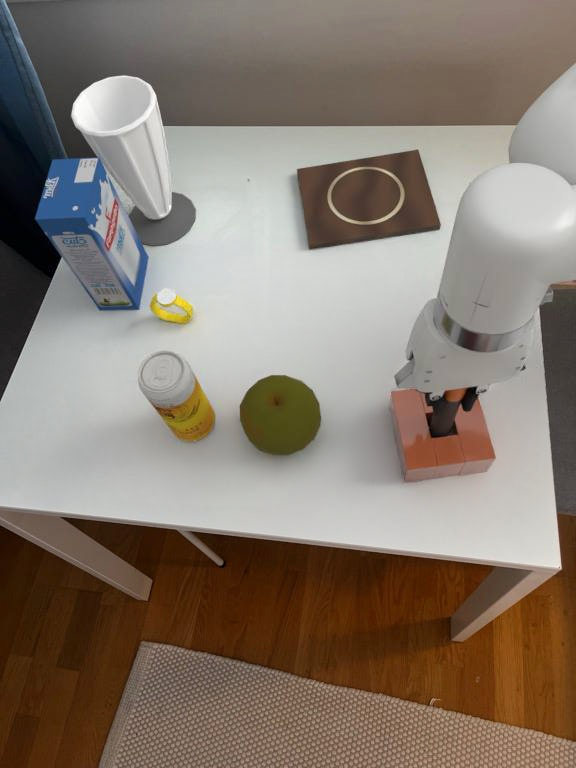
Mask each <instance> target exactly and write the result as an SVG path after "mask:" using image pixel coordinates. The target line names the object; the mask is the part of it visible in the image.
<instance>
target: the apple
mask: <svg viewBox="0 0 576 768" xmlns="http://www.w3.org/2000/svg"><path fill="white" fill-rule="evenodd" d="M238 407H239V422H240V424H241V427H242V429H243V433H244V435H245V437H246V438H247V441H249V442H250V443H251V444H252V445H253V447H255V448H256V449H257V450H258V451H260V452H263V453H266V454H269V455H272V456H291V455H292V454H295V453H298V452H300V451H303V450H304V449H305V448H306V447H308V446H309V445H310V444H311V443H313V441H315V439H316V437H317V435H318V432H319V430H320V428H321V424H322V415H321V405H320V402H319V400H318V398H317V395H316V393H315V392H314V390H313V389H312V388H311V387H309V385H308V384H306V383H305V382H304V381H302V380H300V379H297V378H294V377H291V376H288V375H285V374H270V375H268V376H266V377H263V378H261V379H259V380H257V381H256V382H255V383H254V384H253V385H251V386H250V387H249V388H248V389H247V391H246V392H245V394H244V396H243V398H242V400H241V402H240V404H239V406H238Z"/></svg>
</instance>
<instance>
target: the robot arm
mask: <svg viewBox="0 0 576 768" xmlns="http://www.w3.org/2000/svg"><path fill="white" fill-rule="evenodd" d="M507 151H508V162H509V163H503V164H499V165H496V166H494V167H493V166H492V168H489V169H486V170H485V171H483V172H482V173H480V174H478V175H477V176H476V177H474V179H473V180H472V181H470V183H469V184H468V186H467V187H466V188H465V190H464V192H463V193H462V196H461V197H460V199H459V203H458V207H457V210H456V213H455V218H454V222H453V227H452V231H451V234H450V240H449V244H448V248H447V253H446V257H445V261H444V266H443V269H442V274H441V279H440V283H439V287H438V291H437V295H436V298H433V299H430V300H428V301H427V302H426V304H424V306H423V307H422V309H421V310H420V312H419V313H418V316H416V317H417V318H415V322H414V324H413V326H412V329H411V331H410V334H409V337H408V340H407V343H406V348H405V358H406V361H407V363H406V364H405V365H404V366H403V367H402V368H401V369H400V370H398V372H397V373H395V374H394V376H393V377H394V380H395V384H396V385H395V386H396V388H397V389H403V390H408V389H416V391H418V392H421V393H425V400H426V404H427V407H430V406H432V408H433V412H434V416H440V414H442V411H443V408H444V405H445V403H446V397H445V394H444V392H445V391H446V390H454V389H461V388H467V390H466V392H465V395H464V397H463V399H462V401H461V405H462V408H463V411H465V412H469V411H471V409H472V407H473V405H474V403H475V401H476V400H477V399H478V397H480V395H482V394H485V393H488V390H489V388H490V386H491V385H494V384H499V383H504V382H509V381H511V380H513V379H514V378H515V377H516V376H518V375H519V374H520V372H523V371H525V370H526V369H527V366H526V362H527V359H528V357H529V354H530V352H531V348H532V344H533V340H534V333H535V325H536V316H535V315H536V312H537V311H538V308H540V307H541V306H543V305H544V304H547V303H552V302H553V300H554V291H553V290H554V289H553V287H552V286H551V285H554V284H559V283H565V282H571V281H572V282H573V281H576V62H575V63H573V64H572V65H571V66H570V67H569V68H568V69H567V70H565V72H563V73H562V74H561V75H560V76H559V77H558V78H557V79H556V80H555V81H553V83H551V85H549V87H547V88H546V89H545V90H544V91H543V92H542V93H541V94H540V96H539V97H538V98H536V100H535V101H534V102H533V103H532V104H531V105H530V106H529V107H528V108H527V110H526V111H525V112H524V114H523V115H522V117H520V119H519V120H518V122H517V124H516V126H515V127H514V130H513V131H512V133H511V137H510V139H509V145H508V149H507Z"/></svg>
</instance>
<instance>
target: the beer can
mask: <svg viewBox="0 0 576 768" xmlns="http://www.w3.org/2000/svg"><path fill="white" fill-rule="evenodd" d="M137 384H138V387H139V390H140V391H141V393H142V394H143V396H144V397H145V398H146V399H147V401H149V403H150V404H151V406H152V407H153V408H154V410H155V411H156V412H157V414H158V415H159V417H160V418H161V419H162V420H163V422H164V423H165V424H166V426H167V427H168V428H169V429H170V431H171V432H172V434H173V435H174V436H175V437H176V438H177V439H179V440H181V441H183V442H190V443H191V442H198V441H200V440H202V439H204V438H205V437H207V436H208V435H209V434H210V433H211V431H213V428H214V427H215V424H216V423H215V422H216V414H215V411H214V408H213V407H212V405H211V402H210V401H209V399H208V397H207V394H206V393H205V391H204V390H203V388H202V386H201V384H200V382H199V380H198V379H197V377H196V374H195V373H194V371H193V369H192V368H191V365H190V364H189V362H188V360H187V359H186V358H185V357H184V356H182V355H181V354H179V353H177V352H174V351H171V350H159V351H156V352H153V353H151V354H150V355H148V356H147V357H146V358H144V360H143V361H142V362H141V364H140V366H139V369H138V373H137Z"/></svg>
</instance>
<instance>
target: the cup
mask: <svg viewBox="0 0 576 768" xmlns="http://www.w3.org/2000/svg"><path fill="white" fill-rule="evenodd" d="M70 117H71V119H72V122H73V124H74V126H75V128H76V129H77V130H78V131H80V132H81V135H82V136H83V138H84V139H85V141H86V142H87V145H89V147H90V148H91V150H92V151H93V153H94V154H95V155H96V156H95V157H99V158H100V160H101V162H102V164H103V166H104V168H105V170H106V171H107V173H109V175H110V176H111V177H112V179H113V180H114V181H115V183H116V184H117V185H118V186H119V188H120V189H121V190H122V191H123V192H124V194H125V195H126V196H127V197H128V199H130V201H131V202H132V203H133V205H134V206H133V208H132V210H131V211H130V212H129V215H128V217H129V219H130V221H131V223H132V225H133V227H134V229H135V231H136V233H137V235H138V237H139V239H140V241H141V243H142V245H147V246H150V247H151V246H152V247H159V246H167V245H170V244H171V243H174V242H176V241H179V240H180V239H181V238H183V237H184V236H185V235H187V233H189V232H190V230H191V229H192V227H193V225H194V223H195V222H196V214H197V213H196V212H197V209H196V207H195V205H194V203H193V201H192V200H191V198H188V197H187V196H186V195H184V194H183V193H179V192H174V191H173V190H172V178H171V177H172V175H171V168H170V160H169V152H168V146H167V141H166V133H165V130H164V125H163V120H162V115H161V111H160V106H159V103H158V98H157V94H156V92H155V91H154V88H153V87H152V84H150V83H148V82H146V81H145V80H143V79H141V77H136V76H130V75H116V76H115V75H114V76H108V77H105V78H103V79H101V80H98V81H95V82H93V83H92V84H91V85H89V86H87V87H86V88H85V89H84V90H82V91H81V92H80V93H79V94H78V96H77V97H76V99H75V100H74V102H73V104H72V108H71V114H70Z"/></svg>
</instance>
